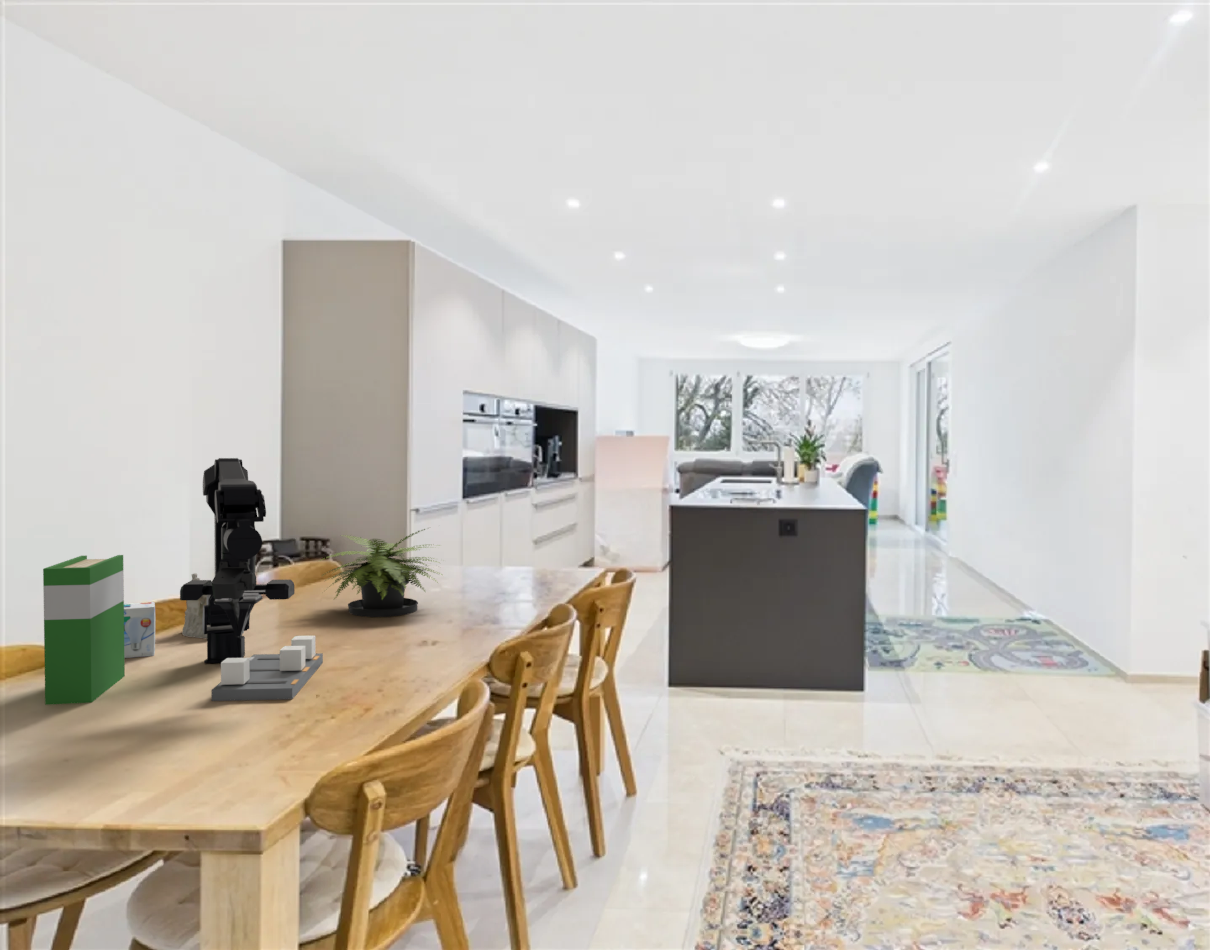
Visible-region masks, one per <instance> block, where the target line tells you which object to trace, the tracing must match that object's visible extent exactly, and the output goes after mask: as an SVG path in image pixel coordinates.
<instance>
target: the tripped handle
mask: <svg viewBox="0 0 1210 950" xmlns="http://www.w3.org/2000/svg"><path fill="white" fill-rule="evenodd" d="M249 658H250V657H242V658H226V659H225V660H224V661H223V662H221V663H220V682H221V685H227V684H245V683H246V682H247V681H248V680H249V679H250V674H249Z"/></svg>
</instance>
